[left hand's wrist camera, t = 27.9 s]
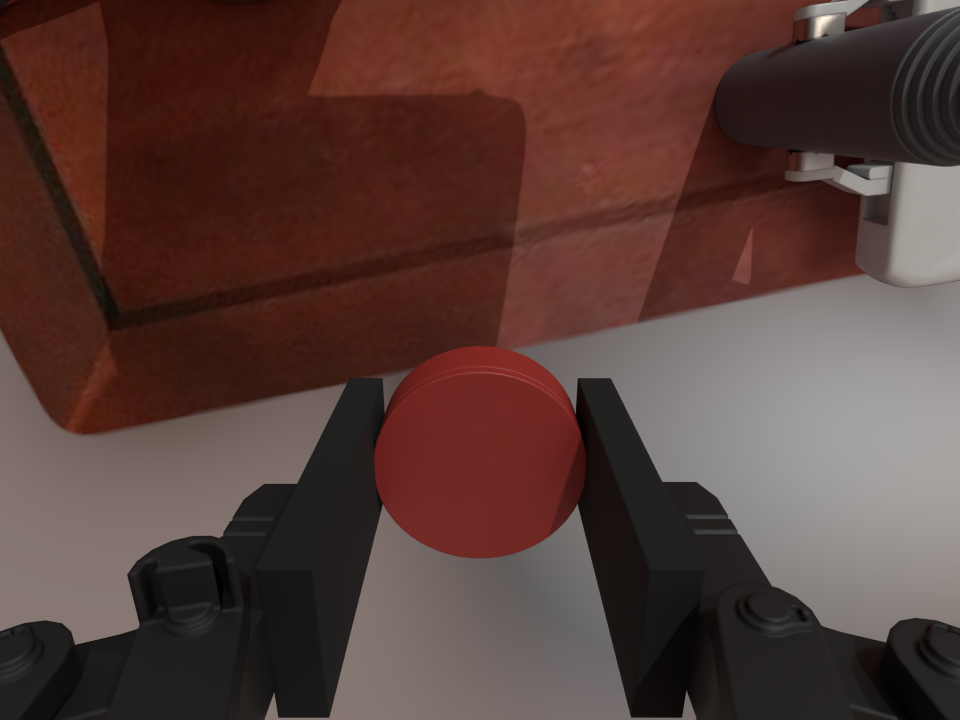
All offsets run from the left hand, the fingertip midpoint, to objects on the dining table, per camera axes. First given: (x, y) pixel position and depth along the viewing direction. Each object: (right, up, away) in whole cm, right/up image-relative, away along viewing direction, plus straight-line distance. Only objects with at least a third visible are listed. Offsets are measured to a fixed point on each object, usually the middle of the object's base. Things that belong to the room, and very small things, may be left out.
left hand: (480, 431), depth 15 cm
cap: (0, -1, -1) cm, 1 cm away
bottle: (+17, +17, +23) cm, 33 cm away
